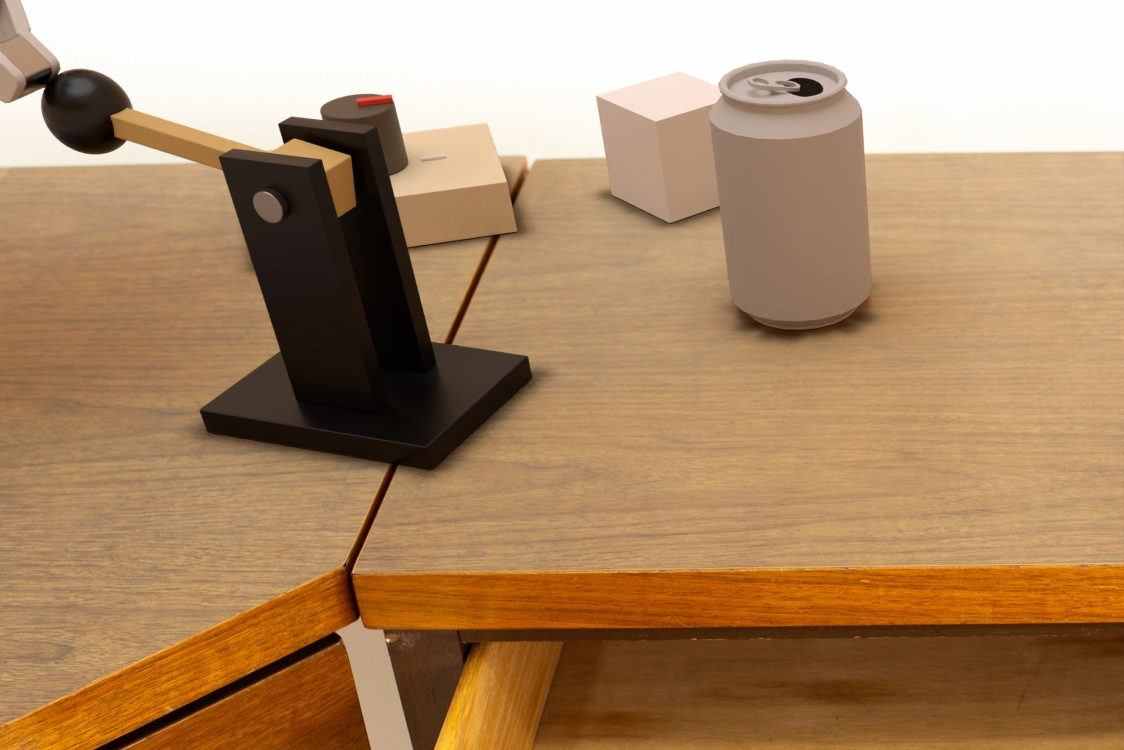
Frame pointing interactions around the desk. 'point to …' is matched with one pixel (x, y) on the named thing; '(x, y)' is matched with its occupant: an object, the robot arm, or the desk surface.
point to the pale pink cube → (661, 145)
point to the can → (792, 193)
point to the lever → (159, 130)
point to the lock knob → (372, 122)
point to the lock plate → (452, 186)
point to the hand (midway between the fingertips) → (36, 85)
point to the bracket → (347, 316)
